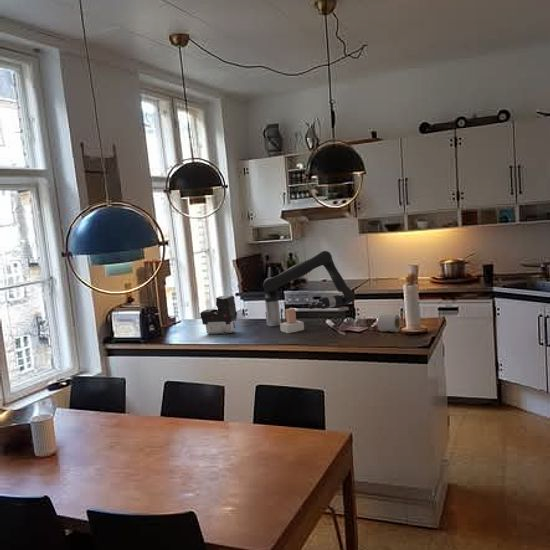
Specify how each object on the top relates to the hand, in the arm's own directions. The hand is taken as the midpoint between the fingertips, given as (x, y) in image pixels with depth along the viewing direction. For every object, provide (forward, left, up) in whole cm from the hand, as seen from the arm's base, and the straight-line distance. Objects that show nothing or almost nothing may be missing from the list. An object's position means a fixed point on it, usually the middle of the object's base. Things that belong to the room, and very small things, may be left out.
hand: (306, 306), depth 361 cm
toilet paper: (+56, +10, -15) cm, 59 cm away
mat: (+9, -11, -15) cm, 20 cm away
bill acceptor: (-52, -31, -15) cm, 62 cm away
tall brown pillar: (-4, -11, -14) cm, 18 cm away
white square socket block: (-4, -11, -15) cm, 19 cm away
